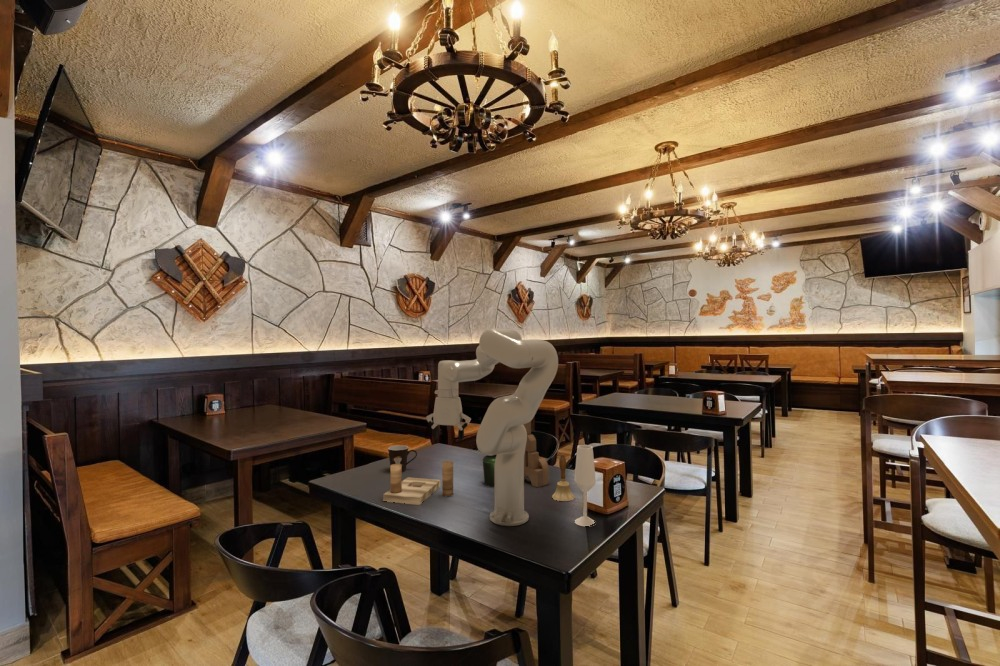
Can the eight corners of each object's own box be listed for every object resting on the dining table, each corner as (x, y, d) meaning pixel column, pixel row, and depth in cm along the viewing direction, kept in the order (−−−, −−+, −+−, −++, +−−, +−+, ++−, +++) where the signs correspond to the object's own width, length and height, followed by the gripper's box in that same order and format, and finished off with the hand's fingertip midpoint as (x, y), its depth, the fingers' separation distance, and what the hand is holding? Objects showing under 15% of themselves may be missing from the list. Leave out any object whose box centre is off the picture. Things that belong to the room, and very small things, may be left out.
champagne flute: (570, 519, 148) (570, 445, 148) (587, 516, 151) (587, 443, 151) (582, 528, 142) (582, 450, 142) (600, 524, 145) (600, 447, 144)
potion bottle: (488, 479, 189) (488, 435, 189) (506, 482, 185) (506, 437, 185) (478, 485, 182) (478, 439, 182) (496, 488, 178) (496, 441, 178)
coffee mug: (384, 472, 198) (384, 449, 198) (394, 467, 206) (394, 444, 206) (408, 475, 195) (408, 451, 195) (418, 469, 203) (418, 446, 203)
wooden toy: (549, 484, 183) (549, 421, 183) (537, 487, 179) (537, 423, 179) (523, 474, 195) (523, 415, 195) (511, 478, 191) (511, 417, 191)
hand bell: (565, 503, 162) (565, 458, 162) (547, 498, 168) (547, 454, 168) (579, 497, 168) (579, 454, 168) (560, 492, 174) (560, 450, 174)
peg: (451, 497, 169) (451, 464, 169) (440, 496, 170) (440, 463, 170) (454, 493, 173) (454, 461, 173) (444, 492, 174) (444, 460, 174)
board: (419, 505, 161) (419, 470, 161) (383, 501, 164) (383, 467, 164) (440, 486, 180) (440, 455, 180) (407, 483, 184) (407, 453, 184)
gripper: (422, 394, 170) (422, 440, 170) (467, 395, 165) (467, 443, 166) (430, 391, 177) (430, 436, 177) (473, 393, 173) (473, 438, 173)
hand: (448, 439), depth 171 cm, fingers open, 9 cm apart
